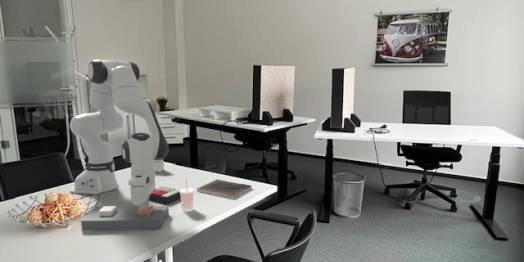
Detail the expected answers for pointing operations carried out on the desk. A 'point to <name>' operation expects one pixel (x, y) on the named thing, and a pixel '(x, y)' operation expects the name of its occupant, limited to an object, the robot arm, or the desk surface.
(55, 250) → the desk surface
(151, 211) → the key terracotta
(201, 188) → the picture frame
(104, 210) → the key white
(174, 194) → the calculator
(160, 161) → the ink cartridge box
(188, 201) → the beverage cup
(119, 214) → the console
